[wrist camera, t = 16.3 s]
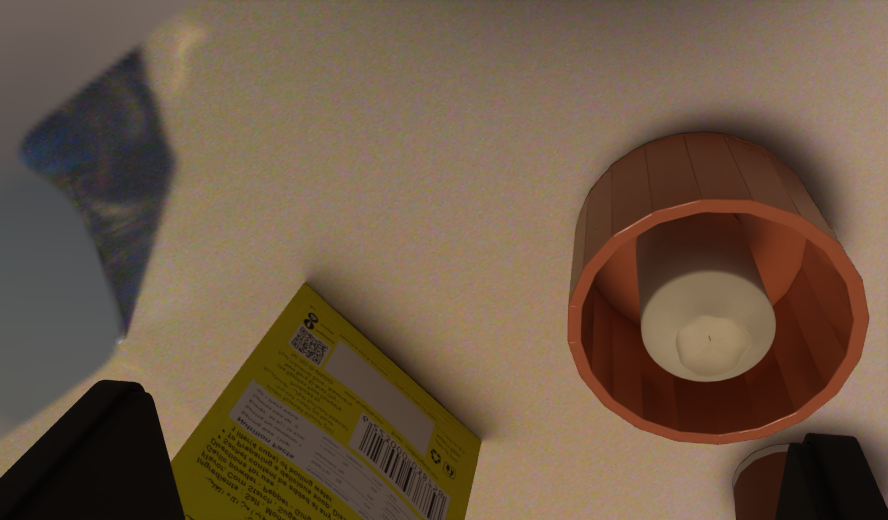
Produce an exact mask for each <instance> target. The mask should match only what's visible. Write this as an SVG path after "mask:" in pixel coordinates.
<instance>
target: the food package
mask: <svg viewBox="0 0 888 520" xmlns="http://www.w3.org/2000/svg"><path fill="white" fill-rule="evenodd" d="M481 443H482V442H481V441H480V440H479V439H478V438H477V437H476V436H475V435H473V434H472V432H470V431H469V430H468V429H467V428H466V427H465V426H464V425H462V424H461V423H460V422H459V421H457V420H456V419H455V418H454V417H453V416H452V415H451V414H450V413H448V412H447V411H446V410H445V409H444V408H443V407H442V406H441V405H440V404H439V403H437V402H436V401H435V400H434V399H433V398H432V397H431V396H430V395H429V394H428V393H426V392H425V391H424V390H423V389H422V388H421V387H420V386H419V385H418V384H416V383H415V382H414V381H413V380H412V379H411V378H410V377H409V376H408V375H406V374H405V373H404V372H403V371H402V370H401V369H400V368H399V367H397V366H396V365H395V364H394V363H393V362H392V361H391V360H390V359H389V358H387V357H386V356H385V355H384V354H383V353H382V352H381V351H380V350H379V349H377V348H376V347H375V346H374V345H373V344H372V343H371V342H370V341H369V340H367V339H366V338H365V337H364V336H363V335H362V334H361V333H360V332H359V331H357V330H356V329H355V328H354V327H353V326H352V325H351V324H349V323H348V322H347V321H346V320H345V319H344V318H343V317H342V316H341V315H339V314H338V313H337V312H336V311H335V310H334V309H333V308H332V307H331V306H329V305H328V304H327V303H326V302H325V301H324V300H323V299H322V298H321V297H320V296H319V295H318V294H317V293H316V292H314V291H313V290H312V289H311V288H310V287H309V286H307V285H306V284H305V283H304V284H303V285H302V286H301V288H300V289H299V290H298V291H297V293H296V294H295V296H294V297H293V298H292V300H291V301H290V303H289V304H288V305H287V307H286V308H285V309H284V311H283V312H282V313H281V315H280V316H279V317H278V319H277V320H276V321H275V323H274V324H273V325H272V327H271V328H270V329H269V331H268V332H267V333H266V335H265V336H264V337H263V339H262V340H261V341H260V343H259V344H258V345H257V347H256V348H255V349H254V351H253V352H252V354H251V355H250V356H249V358H248V359H247V360H246V362H245V363H244V364H243V366H242V367H241V368H240V370H239V371H238V372H237V374H236V375H235V376H234V378H233V379H232V380H231V382H230V383H229V384H228V386H227V387H226V388H225V390H224V391H223V393H222V394H221V395H220V397H219V398H218V399H217V401H216V402H215V403H214V405H213V406H212V407H211V409H210V410H209V411H208V413H207V414H206V415H205V417H204V418H203V419H202V421H201V422H200V423H199V425H198V426H197V428H196V429H195V430H194V432H193V433H192V434H191V436H190V437H189V438H188V440H187V441H186V442H185V444H184V445H183V446H182V448H181V449H180V450H179V452H178V453H177V454H176V456H175V457H174V458H173V460H172V461H171V467H172V470H173V474H174V478H175V482H176V485H177V489H178V493H179V496H180V500H181V504H182V508H183V511H184V515H185V520H464V519H465V515H466V510H467V506H468V502H469V497H470V493H471V488H472V484H473V479H474V475H475V470H476V466H477V461H478V456H479V451H480V447H481Z"/></svg>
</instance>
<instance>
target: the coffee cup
mask: <svg viewBox="0 0 888 520" xmlns="http://www.w3.org/2000/svg"><path fill="white" fill-rule="evenodd" d="M789 445H790V444H784V445H772V446H770V447H767V448H765V449H762V450H759V451H757V452H754V453H752V454H751V455H750V456H749V457H748V458H747V459H746V460H744V461H743V462H742V463H741V464H740V465H739V466H738V468H737V471H736V473H735V475H734V477H733V480H732V484H733V492H734V500H735V512H736V520H775V515H776V510H777V505H778V499H779V494H780V488H781V483H782V478H783V472H784V467H785V461H786V456H787V451H788V447H789Z"/></svg>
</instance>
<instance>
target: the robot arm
mask: <svg viewBox="0 0 888 520" xmlns="http://www.w3.org/2000/svg"><path fill="white" fill-rule="evenodd" d="M0 520H185V515H184V511H183V508H182V504H181V500H180V496H179V493H178V489H177V485H176V482H175V478H174V474H173V470H172V467H171V463H170V459H169V455H168V452H167V448H166V444H165V441H164V437H163V433H162V429H161V426H160V422H159V418H158V414H157V411H156V407H155V403H154V400H153V398H152V396H151V395H150V394H149V393H147V392H145V390H144V388H143V387H142V386H141V385H140V383H136V382H128V381H115V380H101V381H99V382H97V383H96V384H94V385H93V386H92V387H91V388H90V389H89V390H88V391H87V392H86V393H85V394H84V395H83V396H82V397H81V398H80V399H79V400H78V401H77V402H76V403H75V404H74V405H73V406H72V407H71V408H70V409H69V410H68V411H67V412H66V413H65V414H64V415H63V416H62V417H61V418H60V419H59V420H58V421H57V422H56V423H55V424H54V425H53V426H52V427H51V428H50V429H49V430H48V431H47V432H46V433H45V434H44V435H43V436H42V437H41V438H40V439H39V440H38V441H37V442H36V443H35V444H34V445H33V446H32V447H31V448H30V449H29V450H28V451H27V452H26V453H25V454H24V455H23V456H22V457H21V458H20V459H19V460H18V461H17V462H16V463H15V464H14V465H13V466H12V467H11V468H10V469H9V470H8V471H7V472H6V473H5V474H4V475H3V476H2V477H1V478H0ZM775 520H888V508H887V506H886V504H885V501H884V499H883V497H882V494H881V492H880V490H879V488H878V485H877V483H876V481H875V479H874V476H873V474H872V472H871V469H870V467H869V465H868V463H867V460H866V458H865V456H864V453H863V451H862V449H861V447H860V444H859V442H858V441H857V439H856V438H855V437H853V436H842V435H829V434H816V433H808V434H806V436H805V438H804V440H803V444H802V443H790V445H789V447H788V451H787V456H786V461H785V467H784V472H783V478H782V483H781V488H780V494H779V499H778V505H777V510H776V515H775Z"/></svg>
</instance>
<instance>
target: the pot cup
mask: <svg viewBox="0 0 888 520" xmlns="http://www.w3.org/2000/svg"><path fill="white" fill-rule="evenodd" d="M701 212H714V213H732V214H733V215H734V216H735V217H736V218H737V220H738V221H739V223H740V225H741V226H742V229H743V231H744V233H745V236H746V238H747V241H748V244H749V246H750V249H751V252H752V254H753V257H754V260H755V262H756V265H757V268H758V270H759V273H760V276H761V278H762V281H763V284H764V286H765V289H766V292H767V294H768V297H769V300H770V302H771V305H772V308H773V311H774V314H775V319H776V330H775V336H774V339H773V342H772V344H771V346H770V349H769V350H768V352H767V353H766V355H765V356H764V357H763V358H762V359H761V360H760V361H759V362H758V363H757V364H756V365H755V366H753V367H752V368H750V369H749V370H747V371H746V372H744V373H742V374H740V375H738V376H735V377H732V378H729V379H725V380H720V381H710V382H703V381H693V380H688V379H684V378H681V377H678V376H676V375H673V374H672V373H670V372H668V371H666V370H665V369H663V368H662V367H661V366H659V365H658V364H657V363H656V362H655V361H654V360H653V358H652V357H651V356H650V355H649V353H648V351H647V350H646V347H645V345H644V343H643V339H642V333H641V321H640V307H639V292H638V278H637V264H636V241H637V237H638V235H640V234H641V233H643V232H645V231H647V230H648V229H650V228H652V227H653V226H655V225H657V224H658V223H662V222H666V221H670V220H674V219H678V218H682V217H686V216H690V215H694V214H697V213H701ZM868 324H869V313H868V308H867V302H866V297H865V291H864V286H863V280H862V278H861V276H860V274H859V273H858V271H857V270H856V268H855V266H854V265H853V263H852V262H851V260H850V258H849V257H848V255H847V254H846V252H845V250H844V249H843V247H842V246H841V244H840V242H839V241H838V239H837V238H836V236H835V234H834V233H833V231H832V230H831V228H830V226H829V225H828V223H827V221H826V220H825V218H824V217H823V215H822V213H821V212H820V210H819V209H818V207H817V205H816V204H815V202H814V201H813V199H812V198H811V196H810V194H809V193H808V191H807V190H806V188H805V187H804V185H803V184H802V182H801V181H800V179H799V178H798V176H797V175H796V173H795V172H794V171H793V169H791V168H790V167H789V166H788V165H787V164H785V163H784V162H783V161H782V160H781V159H780V158H779V157H777V156H776V155H774V154H773V153H771V152H770V151H768V150H767V149H765V148H763V147H761V146H759V145H757V144H755V143H753V142H751V141H748V140H744V139H741V138H738V137H735V136H730V135H725V134H720V133H705V132H701V133H685V134H679V135H674V136H669V137H665V138H662V139H659V140H655V141H653V142H650V143H648V144H646V145H643V146H641V147H639V148H637V149H635V150H634V151H632V152H630V153H629V154H627V155H625V156H624V157H623V158H621V159H620V160H619V161H617V162H616V163H615V164H614V165H612V166H611V167H610V168H609V169H608V170H607V171H606V172H605V173H604V174H603V175H602V176H601V178H600V179H599V180H598V181H597V183H596V184H595V185H594V187H593V188H592V190H591V191H590V193H589V195H588V197H587V198H586V200H585V203H584V205H583V207H582V210H581V212H580V216H579V220H578V223H577V225H576V229H575V240H574V250H573V261H572V272H571V282H570V293H569V303H568V344H569V347H570V350H571V353H572V355H573V358H574V361H575V364H576V367H577V370H578V372H579V375H580V376H581V378H582V379H583V381H584V382H585V383H586V384H587V386H588V387H589V388H590V389H591V390H592V392H593V393H594V394H595V395H596V397H597V398H598V399H599V400H600V402H601V403H602V404H603V405H604V406H605V407H606V408H608V409H609V410H611V411H612V412H614V413H615V414H617V415H618V416H620V417H621V418H623V419H624V420H626V421H627V422H629V423H630V424H632V425H633V426H635V427H637V428H638V429H641V430H644V431H647V432H650V433H653V434H656V435H659V436H662V437H665V438H668V439H671V440H674V441H678V442H691V443H703V444H716V445H719V444H728V443H734V442H740V441H747V440H753V439H759V438H763V437H766V436H769V435H771V434H773V433H776V432H778V431H780V430H783V429H785V428H787V427H790V426H792V425H794V424H797V423H799V422H802V421H803V420H805V419H806V418H808V417H809V416H810V415H811V414H813V413H814V412H815V411H816V410H818V409H819V408H820V407H821V406H823V405H824V404H825V403H826V402H828V401H829V400H830V399H831V398H833V397H834V396H835V395H836V394H837V393H838V392H839V391H840V389H841V388H842V386H843V385H844V383H845V382H846V380H847V378H848V377H849V375H850V374H851V372H852V371H853V369H854V368H855V366H856V365H857V363H858V362H859V360H860V358H861V355H862V350H863V346H864V341H865V337H866V332H867V328H868Z"/></svg>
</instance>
